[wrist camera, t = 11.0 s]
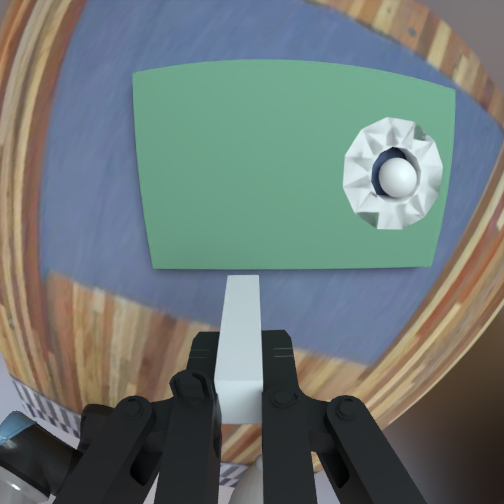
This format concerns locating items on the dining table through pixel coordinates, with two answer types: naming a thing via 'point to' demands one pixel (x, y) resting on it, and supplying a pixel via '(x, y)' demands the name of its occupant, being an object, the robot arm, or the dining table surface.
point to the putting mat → (288, 165)
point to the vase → (249, 488)
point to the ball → (397, 177)
